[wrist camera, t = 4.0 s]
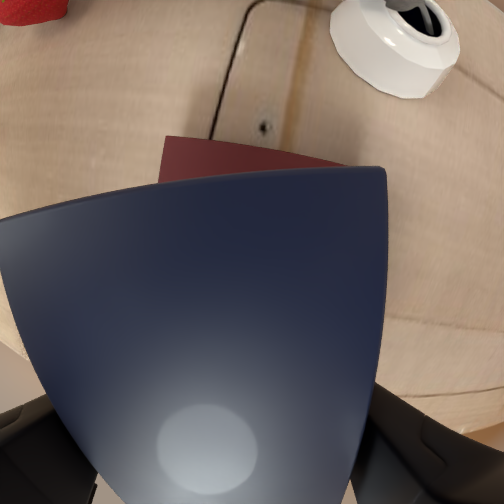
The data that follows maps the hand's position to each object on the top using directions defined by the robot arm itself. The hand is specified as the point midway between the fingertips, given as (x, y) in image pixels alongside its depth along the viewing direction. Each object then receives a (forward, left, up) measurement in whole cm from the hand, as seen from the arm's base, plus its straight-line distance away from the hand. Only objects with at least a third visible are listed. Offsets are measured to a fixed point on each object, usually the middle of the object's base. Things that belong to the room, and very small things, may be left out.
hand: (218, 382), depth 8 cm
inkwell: (+19, -1, -11) cm, 22 cm away
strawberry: (+18, +22, -11) cm, 30 cm away
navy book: (0, 0, 0) cm, 0 cm away
